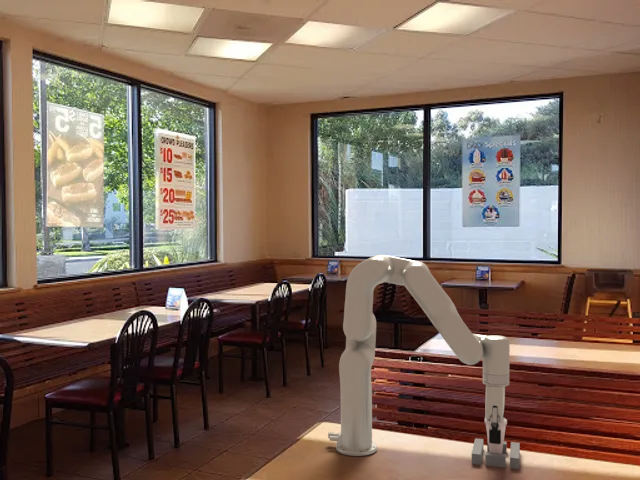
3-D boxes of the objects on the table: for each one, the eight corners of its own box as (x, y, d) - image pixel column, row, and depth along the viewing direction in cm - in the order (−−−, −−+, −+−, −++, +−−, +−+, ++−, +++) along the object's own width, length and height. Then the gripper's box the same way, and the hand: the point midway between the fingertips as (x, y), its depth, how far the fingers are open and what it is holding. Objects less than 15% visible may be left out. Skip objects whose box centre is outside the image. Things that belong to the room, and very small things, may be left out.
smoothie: (507, 456, 178) (508, 408, 177) (484, 455, 179) (485, 407, 179) (505, 448, 184) (506, 402, 184) (483, 447, 185) (483, 400, 185)
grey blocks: (471, 463, 177) (471, 453, 177) (475, 448, 190) (475, 438, 190) (519, 469, 173) (519, 458, 173) (519, 452, 186) (519, 442, 186)
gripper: (484, 370, 190) (484, 428, 191) (480, 384, 174) (480, 448, 174) (509, 372, 188) (509, 431, 189) (508, 387, 172) (508, 451, 172)
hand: (495, 438), depth 181 cm, fingers closed on smoothie, 6 cm apart
